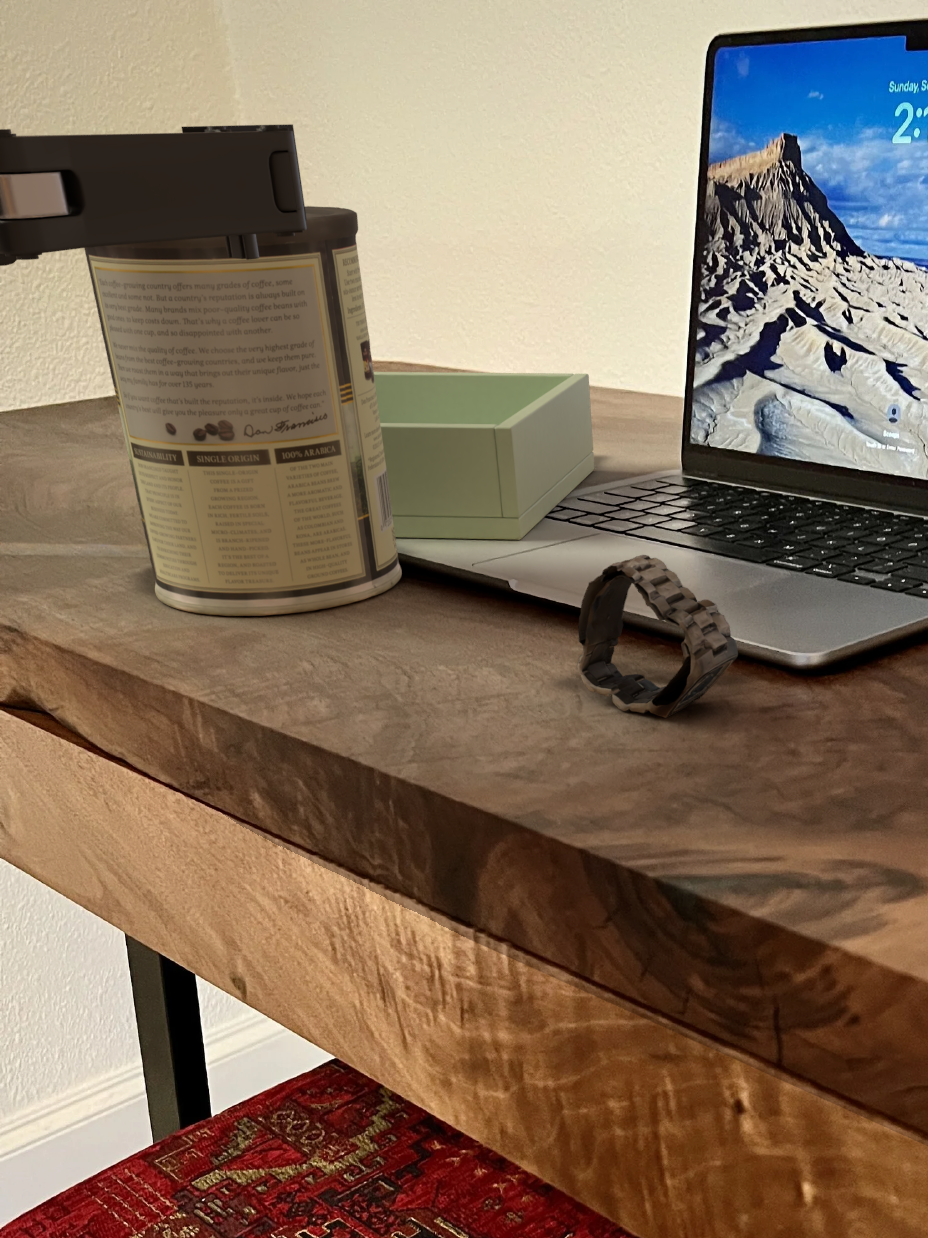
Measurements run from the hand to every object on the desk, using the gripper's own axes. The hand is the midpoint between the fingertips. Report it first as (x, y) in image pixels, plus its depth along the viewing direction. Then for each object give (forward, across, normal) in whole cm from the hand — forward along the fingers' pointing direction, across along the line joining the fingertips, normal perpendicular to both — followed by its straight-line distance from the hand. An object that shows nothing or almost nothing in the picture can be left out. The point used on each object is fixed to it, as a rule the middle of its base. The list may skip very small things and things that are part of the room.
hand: (87, 175), depth 52 cm
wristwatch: (-4, +19, -16) cm, 25 cm away
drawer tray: (+27, 0, -16) cm, 31 cm away
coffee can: (+10, 0, -16) cm, 19 cm away
